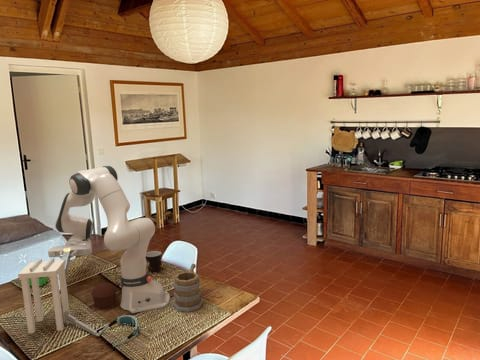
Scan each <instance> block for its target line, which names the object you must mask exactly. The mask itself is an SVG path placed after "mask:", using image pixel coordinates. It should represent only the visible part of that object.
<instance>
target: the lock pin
mask: <svg viewBox="0 0 480 360" xmlns="http://www.w3.org/2000/svg"><path fill="white" fill-rule="evenodd" d="M70 253H72V250H71V248H66V249H64V251H63V255H62V258H60V260H65V262H66V264H65V266H64V268H65V276H66V277H67V273H68V269H69V265H70V261H71V258H70V256H69V254H70ZM57 276H58V284H59V292H60V295H61V290H60V282H59V274H57Z"/></svg>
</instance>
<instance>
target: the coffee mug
mask: <svg viewBox="0 0 480 360" xmlns="http://www.w3.org/2000/svg"><path fill="white" fill-rule="evenodd" d="M161 259H162V251H158V250H152V251H151V250H150V251H148V252H146V268H147V272H148V271H149V272H157V273H159V272H160V271H161V266H162V260H161ZM158 271H159V272H158Z"/></svg>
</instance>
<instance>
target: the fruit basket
mask: <svg viewBox="0 0 480 360" xmlns="http://www.w3.org/2000/svg"><path fill="white" fill-rule="evenodd" d="M48 279H49V276H48V277H38V280H39V286H42V285H43V284H44V285H46V284H47V283H48ZM46 282H47V283H46ZM44 285H43V286H44ZM29 286H32V282H31V278H29ZM43 286H42V287H43Z"/></svg>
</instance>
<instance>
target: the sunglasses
mask: <svg viewBox="0 0 480 360" xmlns="http://www.w3.org/2000/svg"><path fill="white" fill-rule="evenodd" d="M117 323H118V325H119V324H123V323H126V324H125V325H127V324H131V325H132V326H133V328H134V327H135V328H134V330H133V331H132V332H131V333H130V334H129V335H127V336H126V337H125V338H124V339H123V340H121V341H119V342H118V343H116V344H114V345H111V346H109V349H111V348H115V347H117V346H116V345H118V346H120V345H121V344H123V343H125V342H126V341H127V340H131V339H132V338H133V337H134V336H135V335H136V336H138V335H139V325H138V320H137V318H136V317H135V316H134V315H127V314H125V315H121V316H118V317H117V318H115V319H114V320H113V321H111V322H110V323H109V324H107V325H106V326H104V327H103V329H102V330H101V331H100V332H99V333H98V334H99V335H98V336H96V338H95V339H97V338H99V337H100V336H101V335H102V334H103V332H104V331H106V329H107V328H111V327H112V326H114V325H115V324H117ZM131 325H129V326H131ZM132 326H131V327H132ZM119 344H120V345H119ZM114 346H115V347H114Z"/></svg>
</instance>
